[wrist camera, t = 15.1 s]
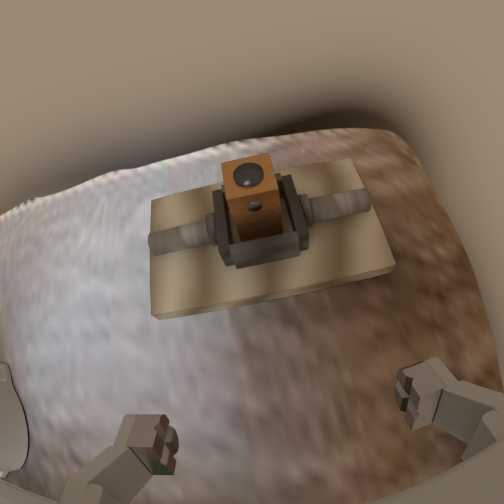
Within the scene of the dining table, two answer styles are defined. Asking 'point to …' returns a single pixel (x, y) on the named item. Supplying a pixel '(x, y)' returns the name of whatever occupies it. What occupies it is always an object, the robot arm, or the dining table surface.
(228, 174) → the block
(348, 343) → the dining table surface
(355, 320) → the dining table surface
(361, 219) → the base
